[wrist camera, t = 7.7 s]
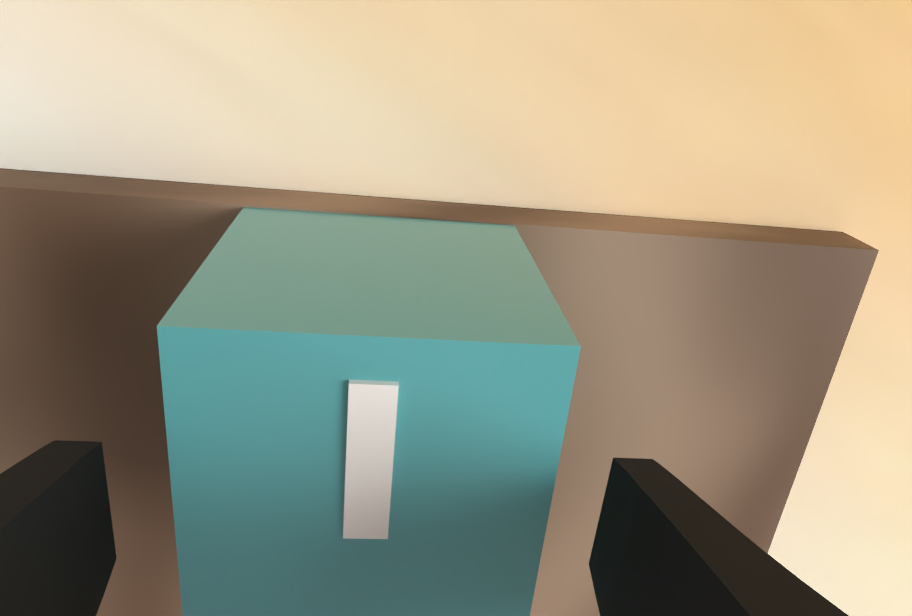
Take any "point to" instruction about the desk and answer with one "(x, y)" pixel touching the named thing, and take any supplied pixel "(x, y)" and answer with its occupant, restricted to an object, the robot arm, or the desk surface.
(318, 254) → the teal mini fridge
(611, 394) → the plate
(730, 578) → the robot arm
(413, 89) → the desk surface
